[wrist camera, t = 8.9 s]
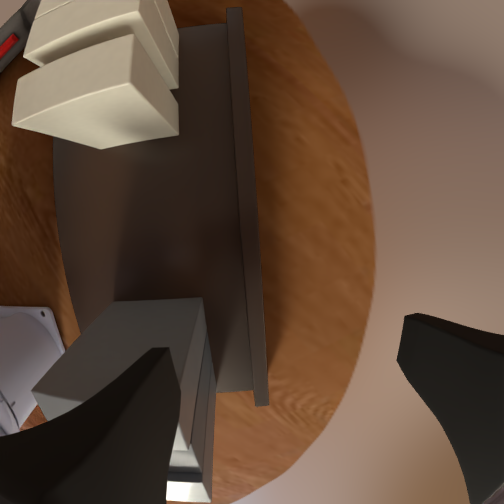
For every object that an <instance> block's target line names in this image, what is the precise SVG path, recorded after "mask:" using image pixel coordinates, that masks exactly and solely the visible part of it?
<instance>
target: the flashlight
mask: <svg viewBox="0 0 504 504" xmlns="http://www.w3.org/2000/svg"><path fill="white" fill-rule="evenodd" d="M40 2H41V0H27V1H26V2H25V3H24V5H23V6H22V7H21V8H20V9H19V10H18V11H17V12H16V13H15V14H14V15H13V16H12V17H11V18H10V19H9V20H8V21H7V22H6V23H5V24H4V25H3V26H2V27H1V28H0V73H1V72H2V71H3V70H4V69H5V67H6V66H7V65H8V64H9V63H10V62H11V61H12V60H13V59H14V58H15V57H16V56H17V55H18V54H19V53H20V52H21V51H22V50H23V49H24V48H25V47H26V44H27V40H28V37H29V34H30V31H31V27H32V24H33V22H34V20H35V16H36V13H37V10H38V8H39V5H40Z"/></svg>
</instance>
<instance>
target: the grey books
mask: <svg viewBox="0 0 504 504" xmlns="http://www.w3.org/2000/svg"><path fill="white" fill-rule="evenodd" d="M152 347H169V348H170V352H171V356H172V360H173V364H174V368H175V372H176V375H177V379H178V382H179V386H180V389H181V406H180V417H179V422H178V427H177V431H176V436H175V441H174V445H173V450H172V455H171V460H170V465H169V471H168V478H167V496H166V500H173V501H186V502H212V468H213V442H214V420H215V401H216V380H215V375H214V369H213V363H212V357H211V351H210V345H209V338H208V332H207V325H206V319H205V312H204V304H203V298H202V297H197V298H181V299H163V300H143V301H117V302H112V303H111V304H110V305H109V306H108V307H107V308H106V309H105V310H104V311H103V312H102V313H101V314H100V315H99V316H98V317H97V318H96V319H95V320H94V322H93V323H92V324H91V325H90V326H89V327H88V328H87V329H86V330H85V331H84V332H83V333H82V334H81V335H80V336H79V337H78V338H77V339H76V340H75V341H74V342H73V344H72V345H71V346H70V347H69V348H68V349H67V350H66V351H65V352H64V353H63V354H62V355H61V357H60V358H59V359H58V360H57V361H56V362H55V363H54V364H53V365H52V367H51V368H50V369H49V370H48V371H47V372H46V373H45V375H44V376H43V377H42V378H41V379H40V380H39V381H38V383H37V384H36V385H35V386H34V387H33V388H32V390H31V392H32V394H33V396H34V398H35V400H36V402H37V403H38V405H39V407H40V409H41V410H42V412H43V414H44V416H45V417H46V419H47V421H50V420H52V419H54V418H56V417H58V416H60V415H62V414H64V413H66V412H68V411H70V410H72V409H73V408H75V407H77V406H78V405H80V404H82V403H83V402H85V401H86V400H88V399H90V398H91V397H92V396H94V395H95V394H97V393H98V392H99V391H100V390H102V389H103V388H104V387H106V386H107V385H108V384H110V383H111V382H112V381H113V380H115V379H116V378H117V377H118V376H119V375H121V374H122V373H123V372H124V371H125V370H126V369H128V368H129V367H130V366H131V365H132V364H133V363H134V362H136V361H137V360H138V359H139V358H140V357H141V356H142V355H144V354H145V353H146V352H147V351H148V350H150V349H151V348H152Z"/></svg>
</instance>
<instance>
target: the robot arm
mask: <svg viewBox="0 0 504 504" xmlns="http://www.w3.org/2000/svg"><path fill="white" fill-rule="evenodd" d="M43 312H44V313H45V315H44V313H43ZM64 352H65V348H64V346H63V343H62V340H61V337H60V334H59V331H58V328H57V325H56V322H55V318H54V315H53V312H52V310H51V309H50V308H49V307H20V306H0V504H166V496H167V478H168V471H169V465H170V460H171V455H172V450H173V445H174V441H175V436H176V431H177V427H178V422H179V417H180V406H181V389H180V386H179V382H178V379H177V375H176V372H175V368H174V364H173V360H172V356H171V352H170V348H169V347H152V348H151V349H150V350H148V351H147V352H146V353H145V354H144V355H142V356H141V357H140V358H139V359H138V360H137V361H136V362H134V363H133V364H132V365H131V366H130V367H129V368H128V369H126V370H125V371H124V372H123V373H122V374H121V375H119V376H118V377H117V378H116V379H115V380H113V381H112V382H111V383H110V384H108V385H107V386H106V387H104V388H103V389H102V390H100V391H99V392H98V393H97V394H95V395H94V396H92V397H91V398H90V399H88V400H86V401H85V402H83V403H82V404H80V405H78V406H77V407H75V408H73V409H72V410H70V411H68V412H66V413H64V414H62V415H60V416H58V417H56V418H54V419H52V420H50V421H48V422H45V423H43V424H41V425H38V426H35V427H33V428H30V429H27V430H24V431H20V430H19V428H20V427H21V426H22V424H23V423H24V421H25V420H26V419H27V417H28V416H29V415H30V413H31V412H32V411H33V409H34V408H35V407H36V405H37V404H38V403H37V402H36V400H35V398H34V396H33V394H32V392H31V390H32V388H33V387H34V386H35V385H36V384H37V383H38V381H39V380H40V379H41V378H42V377H43V376H44V375H45V373H46V372H47V371H48V370H49V369H50V368H51V367H52V365H53V364H54V363H55V362H56V361H57V360H58V359H59V358H60V357H61V355H62V354H63V353H64ZM397 362H398V364H399V366H400V368H401V370H402V371H403V373H404V375H405V377H406V378H407V380H408V381H409V383H410V384H411V385H412V387H413V388H414V389H415V391H416V392H417V393H418V394H419V396H420V397H421V398H422V399H423V401H424V402H425V403H426V405H427V406H428V407H429V408H430V410H431V411H432V412H433V414H434V415H435V416H436V418H437V419H438V421H439V422H440V424H441V426H442V427H443V429H444V431H445V433H446V435H447V437H448V439H449V440H450V443H451V444H452V447H453V449H454V451H455V454H456V456H457V458H458V461H459V464H460V466H461V469H462V472H463V475H464V478H465V482H466V486H467V490H468V494H469V500H470V504H504V335H500V334H495V333H490V332H486V331H482V330H478V329H474V328H470V327H467V326H463V325H460V324H457V323H454V322H450V321H447V320H444V319H441V318H437V317H434V316H430V315H425V314H421V313H415V314H410V315H407V316H405V317H404V324H403V330H402V335H401V341H400V346H399V351H398V356H397Z"/></svg>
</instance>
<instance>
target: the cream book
mask: <svg viewBox="0 0 504 504" xmlns="http://www.w3.org/2000/svg"><path fill="white" fill-rule="evenodd" d="M12 126H15V127H19V128H24V129H28V130H32V131H36V132H40V133H44V134H48V135H51V136H55V137H59V138H63V139H66V140H70V141H73V142H77V143H81V144H84V145H88V146H91V147H94V148H98V149H105V148H110V147H114V146H119V145H124V144H129V143H134V142H140V141H145V140H151V139H157V138H164V137H171V136H178V135H179V114H178V103H177V101H176V100H175V98H174V96H173V95H172V93H171V92H170V90H169V88H168V87H167V85H166V84H165V82H164V80H163V79H162V77H161V75H160V74H159V72H158V71H157V69H156V67H155V66H154V64H153V63H152V61H151V59H150V58H149V56H148V55H147V53H146V51H145V50H144V48H143V47H142V45H141V44H140V42H139V40H138V39H137V37H136V36H135V34H129V35H125V36H121V37H118V38H115V39H111V40H108V41H105V42H102V43H99V44H96V45H93V46H90V47H87V48H84V49H82V50H79V51H76V52H74V53H71V54H69V55H66V56H64V57H62V58H59V59H57V60H55V61H53V62H50V63H48V64H46V65H44V66H42V67H40V68H38V69H36V70H34V71H32V72H30V73H28V74H26V75H24V76H23V77H21V78H19V79H18V82H17V87H16V94H15V100H14V108H13V116H12Z"/></svg>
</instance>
